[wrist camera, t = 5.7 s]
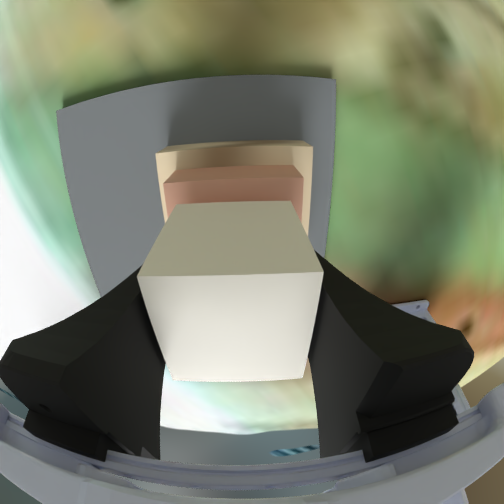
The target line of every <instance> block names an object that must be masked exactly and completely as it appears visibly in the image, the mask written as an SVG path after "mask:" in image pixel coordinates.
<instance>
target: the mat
mask: <svg viewBox="0 0 504 504" xmlns="http://www.w3.org/2000/svg"><path fill="white" fill-rule="evenodd" d="M56 113H57V124H58V133H59V141H60V148H61V155H62V161H63V167H64V172H65V178H66V183H67V187H68V192H69V196H70V201H71V205H72V209H73V213H74V217H75V221H76V224H77V228H78V231H79V235H80V238H81V241H82V245H83V248H84V251H85V254H86V257H87V260H88V263H89V266H90V269H91V272H92V274H93V277H94V280H95V282H96V285H97V288H98V290H99V293H100V295H101V297H103V296H104V295H105V294H107V293H108V292H109V291H111V290H112V289H113V288H115V287H116V286H117V285H118V284H120V283H121V282H122V281H123V280H125V279H126V278H127V277H128V276H130V275H131V274H132V273H133V272H134V271H136V270H137V269H138V268H139V267H140V266H142V265H143V263H144V261H145V260H146V258H147V256H148V254H149V252H150V250H151V248H152V246H153V244H154V243H155V241H156V239H157V237H158V235H159V234H160V232H161V230H162V228H163V226H164V225H165V220H164V214H163V208H162V201H161V194H160V187H159V180H158V172H157V163H156V154H155V153H157V152H159V151H160V150H162V149H164V148H165V147H167V146H174V145H184V144H195V143H208V142H224V141H248V140H301V141H304V142H306V143H308V144H309V145H311V146H313V164H312V185H311V202H310V216H309V230H308V238H309V240H310V242H311V245H312V247H313V249H314V250H315V251H316V252H317V253H319V254H320V255H321V256H322V257H323V258H324V256H325V248H326V240H327V231H328V222H329V213H330V202H331V191H332V178H333V163H334V145H335V119H336V79H328V78H318V77H306V76H290V75H231V76H215V77H203V78H193V79H185V80H177V81H170V82H164V83H158V84H152V85H147V86H142V87H137V88H132V89H128V90H123V91H119V92H115V93H111V94H107V95H104V96H100V97H97V98H93V99H90V100H87V101H83V102H80V103H77V104H74V105H71V106H68V107H65V108H63V109H60V110H57V111H56ZM307 357H308V356H307Z"/></svg>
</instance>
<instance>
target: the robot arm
mask: <svg viewBox="0 0 504 504" xmlns="http://www.w3.org/2000/svg"><path fill="white" fill-rule="evenodd" d="M314 251H315V250H314ZM315 253H316V256H317V258H318V260H319V262H320V265H321V267H322V269H323V271H324V273H323V279H322V285H321V291H320V297H319V302H318V308H317V313H316V318H315V323H314V328H313V333H312V338H311V343H310V347H309V352H308V358H309V363H310V367H311V373H312V380H313V386H314V394H315V401H316V409H317V419H318V429H319V443H320V459H314V460H306V461H299V462H290V463H279V464H266V465H203V464H189V463H179V462H170V461H162V460H160V409H161V396H162V386H163V377H164V369H165V364H166V362H165V359H164V357H163V354H162V351H161V349H160V346H159V343H158V341H157V338H156V335H155V332H154V329H153V327H152V324H151V321H150V318H149V315H148V312H147V309H146V305H145V302H144V299H143V296H142V293H141V289H140V286H139V282H138V279H137V275H138V273H139V271H140V269H141V267H142V266H140V267H139V268H138V269H137V270H136V271H134V272H133V273H132V274H131V275H130V276H128V277H127V278H126V279H125V280H123V281H122V282H121V283H120V284H118V285H117V286H116V287H115V288H113V289H112V290H111V291H109V292H108V293H107V294H105V295H104V296H103V297H101V298H100V299H98V300H97V301H95V302H94V303H92V304H91V305H89V306H88V307H86V308H84V309H82V310H81V311H79V312H77V313H75V314H74V315H72V316H70V317H68V318H66V319H65V320H63V321H60V322H58V323H56V324H54V325H52V326H50V327H47V328H45V329H43V330H40V331H38V332H35V333H32V334H29V335H27V336H24V337H21V338H18V339H15V340H13V341H12V342H11V343H10V345H9V347H8V348H7V350H6V352H5V354H4V355H3V357H2V359H1V360H0V378H1V379H2V380H3V382H4V383H5V385H6V386H7V387H8V388H9V389H10V390H11V391H12V392H13V393H14V395H15V396H16V397H17V398H18V399H19V400H20V401H21V402H22V403H23V404H24V405H25V406H26V407H27V408H28V409H29V411H28V414H27V417H26V419H25V420H24V419H22V418H19V417H18V416H16V415H13V414H12V413H10V412H9V411H8V410H7V409H6V408H5V407H4V406H3V405H2V404H1V403H0V473H1V474H2V475H4V476H5V477H6V478H7V479H9V480H10V481H11V482H13V483H14V484H15V485H16V486H18V487H19V488H20V489H22V490H23V491H25V492H26V493H28V494H29V495H30V496H32V497H34V498H35V499H37V500H38V501H40V502H41V503H43V504H469V502H468V500H467V496H466V493H465V490H464V488H466V487H467V486H469V485H470V484H471V483H473V482H474V481H475V480H477V479H478V478H479V477H481V476H482V475H483V474H484V473H486V472H487V471H488V470H489V469H490V468H492V467H493V466H494V465H495V464H496V463H498V462H499V461H500V460H501V459H502V458H503V457H504V383H502V384H501V385H499V386H497V387H495V388H494V389H492V390H491V391H490V392H489V393H487V394H486V395H485V396H484V397H483V398H482V399H481V400H480V402H479V403H478V405H476V406H474V407H472V408H470V406H469V404H468V402H467V400H466V398H465V395H464V393H463V392H462V390H461V388H460V386H459V384H458V383H459V381H460V380H461V379H462V378H463V376H464V375H465V374H466V372H467V371H468V369H469V368H470V366H471V364H472V362H473V359H474V351H473V350H472V348H471V346H470V345H469V343H468V342H467V340H466V339H465V337H464V335H463V334H462V332H461V331H460V330H456V329H453V328H449V327H446V326H443V325H439V324H436V322H435V321H434V319H433V318H432V316H431V315H430V313H429V312H428V311H427V308H428V306H429V302H428V300H421V301H415V302H408V303H401V304H394V305H391V304H389V303H387V302H385V301H383V300H381V299H380V298H378V297H376V296H375V295H373V294H371V293H370V292H368V291H366V290H365V289H363V288H362V287H360V286H359V285H358V284H356V283H355V282H353V281H352V280H351V279H349V278H348V277H347V276H345V275H344V274H343V273H341V272H340V271H339V270H338V269H336V268H335V267H334V266H333V265H332V264H330V263H329V262H328V261H327V260H326V259H324V258H323V257H322V256H321V255H320V254H319V253H317V252H316V251H315ZM107 472H108V473H107ZM110 473H112V474H115V475H119V476H123V477H127V478H132V479H136V480H141V481H146V482H151V483H157V484H163V485H169V486H177V487H186V488H196V489H210V490H263V489H278V488H288V487H296V486H304V485H311V484H318V483H323V482H328V481H334V480H339V479H343V478H346V479H343V480H339V481H337V482H336V483H335V486H334V487H333V488H331V489H329V490H326V491H324V492H323V493H321V494H314V495H305V496H296V497H283V498H265V499H219V498H202V497H191V496H180V495H172V494H164V493H157V492H151V491H149V490H146V489H143V488H141V487H139V486H137V485H134V484H133V483H131V482H130V481H129V480H127V479H124V478H121V477H118V476H115V475H112V474H110ZM347 477H349V478H347Z"/></svg>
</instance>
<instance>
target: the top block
mask: <svg viewBox="0 0 504 504" xmlns="http://www.w3.org/2000/svg"><path fill="white" fill-rule="evenodd" d="M323 273H324V271H323V269H322V267H321V265H320V262H319V260H318V258H317V256H316V253H315V251H314V249H313V247H312V245H311V242H310V240H309V238H308V236H307V234H306V232H305V230H304V228H303V225H302V223H301V221H300V219H299V217H298V215H297V213H296V211H295V209H294V207H293V205H292V203H291V201H241V202H212V203H191V204H176V206H175V207H174V209H173V211H172V212H171V214H170V216H169V218H168V219H167V221H166V223H165V225H164V226H163V228H162V230H161V232H160V234H159V235H158V237H157V239H156V241H155V243H154V244H153V246H152V248H151V250H150V252H149V254H148V256H147V258H146V260H145V261H144V263H143V265H142V267H141V269H140V271H139V273H138V275H137V279H138V282H139V286H140V289H141V293H142V296H143V299H144V302H145V305H146V309H147V312H148V315H149V318H150V321H151V324H152V327H153V329H154V332H155V335H156V338H157V341H158V343H159V346H160V349H161V351H162V354H163V357H164V359H165V362H166V364H167V367H168V369H169V372H170V374H171V377H172V379H173V380H177V381H201V382H245V381H269V380H284V379H296V378H303V374H304V369H305V365H306V361H307V356H308V352H309V347H310V343H311V338H312V333H313V328H314V323H315V318H316V313H317V308H318V302H319V297H320V291H321V285H322V279H323Z"/></svg>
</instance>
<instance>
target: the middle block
mask: <svg viewBox="0 0 504 504" xmlns="http://www.w3.org/2000/svg"><path fill="white" fill-rule="evenodd" d="M303 185H304V177H303V176H302V175H301V174H300V172H299V171H298V170H297V169H296V168H295V166H294V165H255V166H227V167H209V168H195V169H182V170H175V171H174V172H173V173H172V175H171V176H170V177H169V178H168V179H167V180H166V181H165V182H164V183H163V187H164V195H165V202H166V209H167V215H168V218H169V216H170V214H171V212H172V211H173V209H174V207H175V206H176V204H191V203H212V202H241V201H291V203H292V205H293V207H294V209H295V211H296V213H297V215H298V217H299V219H300V221H301V222H302V205H303Z"/></svg>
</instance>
